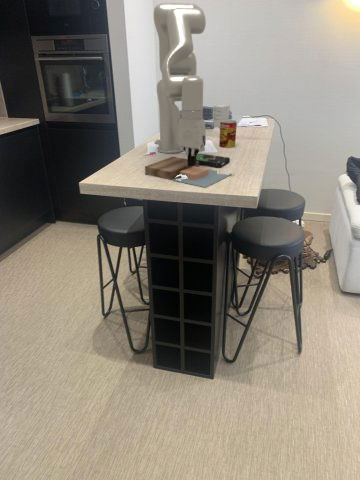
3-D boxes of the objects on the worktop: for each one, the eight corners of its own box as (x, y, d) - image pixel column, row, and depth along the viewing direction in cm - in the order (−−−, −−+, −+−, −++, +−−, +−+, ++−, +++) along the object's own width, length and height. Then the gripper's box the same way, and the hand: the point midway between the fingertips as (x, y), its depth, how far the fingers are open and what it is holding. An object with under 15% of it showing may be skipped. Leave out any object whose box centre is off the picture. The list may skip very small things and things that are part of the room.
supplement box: (220, 125, 237) (221, 104, 231) (229, 127, 231) (230, 105, 226) (212, 126, 232) (212, 105, 227) (220, 128, 227) (221, 106, 221)
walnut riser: (145, 174, 145) (144, 166, 143) (173, 163, 158) (172, 156, 156) (172, 179, 138) (171, 172, 137) (198, 168, 151) (198, 161, 150)
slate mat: (173, 180, 137) (173, 180, 137) (201, 168, 151) (201, 168, 151) (205, 187, 130) (205, 187, 130) (232, 174, 143) (232, 173, 143)
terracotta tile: (179, 176, 141) (179, 171, 140) (193, 171, 147) (193, 166, 146) (194, 180, 137) (194, 174, 136) (208, 174, 143) (208, 169, 142)
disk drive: (229, 163, 160) (198, 159, 166) (230, 157, 158) (198, 152, 165) (220, 169, 151) (187, 164, 158) (220, 163, 150) (188, 158, 156)
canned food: (216, 145, 187) (217, 120, 182) (229, 143, 190) (230, 119, 185) (224, 148, 181) (226, 123, 176) (238, 146, 184) (239, 121, 179)
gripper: (169, 114, 134) (170, 164, 143) (204, 118, 126) (202, 171, 135) (181, 111, 140) (181, 160, 148) (215, 115, 132) (213, 166, 140)
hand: (191, 165), depth 141 cm, fingers closed
